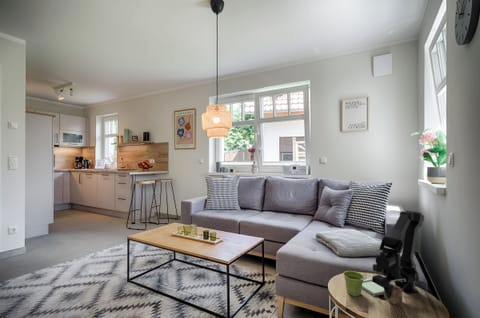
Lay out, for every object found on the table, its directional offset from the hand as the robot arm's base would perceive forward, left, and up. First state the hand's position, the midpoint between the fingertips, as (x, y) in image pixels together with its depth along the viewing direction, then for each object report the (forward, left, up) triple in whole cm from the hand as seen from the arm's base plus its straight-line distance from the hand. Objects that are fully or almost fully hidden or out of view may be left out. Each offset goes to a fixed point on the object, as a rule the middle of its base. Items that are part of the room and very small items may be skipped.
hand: (393, 297), depth 112 cm
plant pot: (+13, -10, -2) cm, 16 cm away
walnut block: (0, 0, -1) cm, 1 cm away
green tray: (0, -11, -1) cm, 11 cm away
